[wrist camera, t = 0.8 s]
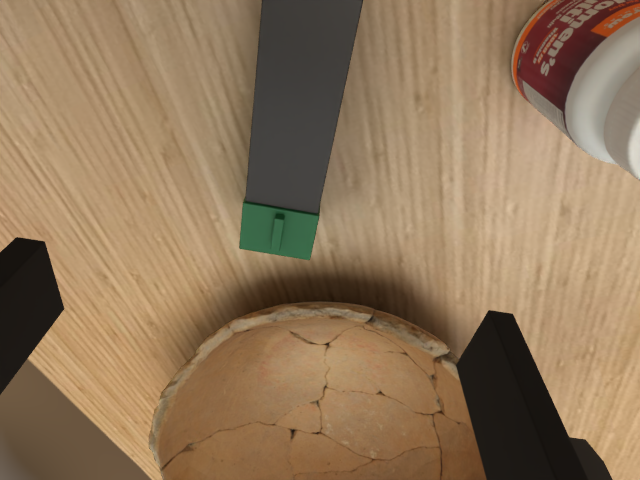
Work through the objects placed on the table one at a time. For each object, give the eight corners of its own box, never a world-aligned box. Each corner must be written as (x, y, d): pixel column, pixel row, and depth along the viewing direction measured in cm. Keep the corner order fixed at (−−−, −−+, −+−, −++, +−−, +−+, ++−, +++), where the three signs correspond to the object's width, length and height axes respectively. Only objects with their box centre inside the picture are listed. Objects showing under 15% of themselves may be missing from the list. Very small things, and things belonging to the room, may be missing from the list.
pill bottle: (581, -44, 20) (777, -29, 11) (650, 36, 22) (865, 104, 13) (484, 63, 23) (575, 142, 14) (552, 125, 25) (671, 230, 16)
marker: (274, -32, 21) (258, -24, 17) (362, -13, 21) (367, -1, 17) (251, 210, 30) (237, 254, 26) (313, 221, 30) (309, 266, 26)
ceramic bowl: (341, 208, 27) (378, 448, 17) (517, 346, 42) (596, 520, 31) (119, 375, 41) (62, 564, 31) (310, 435, 56) (316, 577, 45)
